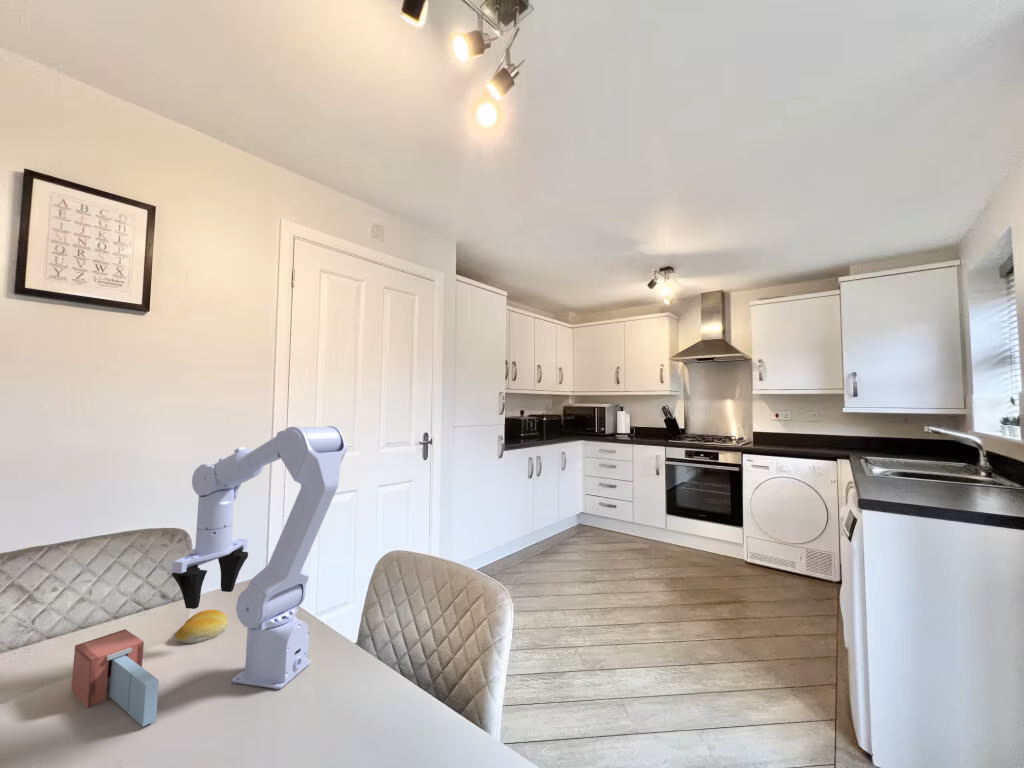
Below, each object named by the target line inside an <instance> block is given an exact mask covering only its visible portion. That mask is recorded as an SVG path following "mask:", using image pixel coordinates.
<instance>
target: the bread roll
mask: <svg viewBox="0 0 1024 768" xmlns="http://www.w3.org/2000/svg"><path fill="white" fill-rule="evenodd" d="M228 625H229V620H228V616H227V615H226V613H224V611H221V610H219V609H206V610H202V611H199V612H197V613H195V614H194V615H192V616H191V617H190V618H188V619H187V620H186V621H185V623H184V624H183V625H182V626H180V627H179V628H178V630H177V631H176V634H175V640H176V641H178V642H180V643H182V642H183V643H182V644H187V643H192V644H197V643H196V642H198V643H202V642H201V641H203V642H205V641H204V640H206V641H208V640H211V639H213V637H214V638H216V637H218V636H219V634H220V635H221V634H222V633H223V632H224V631H225V630H226V628H227V627H228ZM215 636H216V637H215ZM210 638H211V639H210ZM207 639H208V640H207Z"/></svg>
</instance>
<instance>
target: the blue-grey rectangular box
mask: <svg viewBox="0 0 1024 768" xmlns="http://www.w3.org/2000/svg"><path fill="white" fill-rule="evenodd" d="M159 681H160V679H158V678H157V677H156V676H155V675H153V674H151V672H149V671H148V670H146V669H145V668H144V667H143V666H142V667H141V666H139V665H138V664H137V663H135V662H134V661H133V660H131V659H130V658H129V657H127V656H126V655H122V656H119V657H117V658H114V659H112V668H111V677H110V681H109V693H108V694H109V695H108V696H109V697H110V698H111V700H113V701H114V702H115V703H116V704H117V705H119V706H120V707H121V709H123V710H124V711H125V712H126V713H127V714H129V715H130V716H131V717H132V718H133V719H134V720H135V721H136V722H137V723H138V724H139V725H141V726H142V727H145V726H147V725H149V724H151V723H153V722H155V721H157V709H158V694H159V683H160V682H159Z"/></svg>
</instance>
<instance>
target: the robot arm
mask: <svg viewBox="0 0 1024 768" xmlns="http://www.w3.org/2000/svg"><path fill="white" fill-rule="evenodd" d="M233 451H234V453H232V454H230V455H229V456H227V457H225V456H224V457H220V458H219V459H218V461H217V462H215V463H214V464H208V463H207V464H205V463H204V464H203V463H202V464H200V465H199V466H198V467H197V468H195V470H194V472H193V474H192V477H191V486H192V489H193V491H194V492H195V494H196V495H198V500H197V501H198V503H197V517H196V530H195V531H196V532H195V545H194V547H195V548H193V549H192V552H190V553H189V554H186V555H185V556H183V557H181V558H179V559H176V560H174V561H172V569H171V570H172V571H171V572H172V573H171V576H172V578H174V581H175V582H176V583H177V585H178V587H179V589H180V592H181V594H182V597H183V601H184V605H185V609H190V610H195V609H197V608H199V606H200V603H201V594H202V587H203V583H204V580H205V577H206V575H207V572H208V569H207V570H206V569H201V567H199V566H201V565H204V564H207V563H210V562H212V561H216V560H218V564H219V569H220V590H221V592H224V593H226V592H227V593H231V592H233V590H234V588H235V586H236V582H237V579H238V576H239V573H240V572H241V569H242V567H243V565H244V563H245V562H246V560H247V559H248V557H249V551H245V550H247V549H248V539H242V538H237V539H236V540H232V538H233V521H234V520H233V518H234V504H235V503H234V501H236V499H237V498H238V493H239V492H238V491H239V489H240V487H241V485H242V484H243V483H245V482H248V481H249V480H252V479H254V478H256V477H257V476H259V475H260V474H261V473H262V471H263V469H264V467H265V466H266V465H268V464H271V463H273V462H276V461H278V460H281V461H282V462H283V464H284V466H285V468H286V470H287V471H288V472H289V474H290V475H291V478H292V480H293V481H294V482H296V483H298V484H300V489H299V491H298V494H297V496H296V498H295V500H294V501H295V502H294V504H293V506H292V508H291V510H290V513H289V514H288V518H287V520H286V522H285V524H284V527H283V529H282V532H281V534H280V536H279V538H278V541H277V543H276V545H275V547H274V550H273V552H272V555H271V557H270V559H269V562H268V564H267V565H266V566H265V567H264V568H263V569H262V570H260V571H259V572H258V573H257V574H256V575H255V576H253V578H251V579H250V581H249V583H248V585H247V587H246V588H245V589H244V590H243V591H241V593H240V594H239V596H238V598H237V601H236V604H235V605H236V607H235V611H236V616H237V618H238V620H239V622H240V623H241V624H242V625H243V627H244V628H247V629H246V631H247V632H246V648H245V650H246V651H245V652H246V653H245V665H244V666H245V669H244V670H242V671H241V672H239V673H238V674H237V675H235V676H234V677H233V678H232V679H231V682H232V683H235V684H241V685H248V686H256V687H262V688H270V689H277V690H279V689H282V688H283V687H284V686H286V684H288V683H289V682H290V681H291V680H293V679H294V678H295V677H296V676H297V675H298V674H300V672H301V671H303V670H304V669H305V668H306V667H308V666H309V665H310V664H311V659H309V642H310V628H309V625H308V623H307V622H305V621H303V620H300V619H298V618H297V616H296V614H298V613H299V606H301V605H302V604H303V603H304V602H305V601H304V600H305V598H306V594H307V593H306V592H307V585H308V580H309V578H310V576H309V574H308V572H307V571H306V569H304V564H305V563H306V561H307V558H308V556H309V554H310V551H311V548H313V547H312V546H313V545H314V543H315V541H316V538H317V535H318V533H319V531H320V528H321V526H322V524H323V522H324V519H325V518H326V516H327V513H328V510H329V508H330V506H331V503H332V501H333V499H334V496H335V494H336V492H337V490H338V488H339V487H338V486H339V482H340V472H341V464H342V462H343V459H344V458H345V455H346V453H347V451H348V446H347V442H346V439H345V437H344V434H343V433H342V431H341V430H340V428H339V427H336V426H333V425H327V426H313V427H312V426H311V427H310V426H309V427H308V426H305V427H302V426H301V427H298V426H289V427H287V428H285V429H284V430H280V431H277V433H276V436H274V437H272V438H271V439H269V440H268V441H266V442H264V443H263V444H261V445H260V446H258V447H256V448H255V449H252V448H246V447H237V448H236V449H234V450H233Z"/></svg>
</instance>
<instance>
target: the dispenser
mask: <svg viewBox="0 0 1024 768" xmlns="http://www.w3.org/2000/svg"><path fill="white" fill-rule="evenodd" d="M144 643H145V642H144V640H143V639H141V638H140V637H138V636H137V635H135V634H133V633H132V632H130V630H129V631H128V629H121V630H118V631H116V632H112V633H109V634H106V635H103V636H100V637H97V638H95V639H91V640H88V641H84V642H82V643H78V644H75V646H74V653H73V666H72V677H71V688H70V690H71V692H72V693H73V694H74V695H75V696H76V697H77V698H78V699H79V700H80V701H81V702H82V703H83V704H84V706H86V707H87V708H91V707H92V706H95V705H99V704H100V703H102V702H105V701H106V698H107V686H108V679H109V678H110V679H111V668H112V659H114V658H117V657H119V656H122V655H126V656H127V657H129V658H130V659H131V660H133V661H134V662H135V663H137V664H138V665H139V666H141V667H142V668H143V658H144V656H143V655H144Z"/></svg>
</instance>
